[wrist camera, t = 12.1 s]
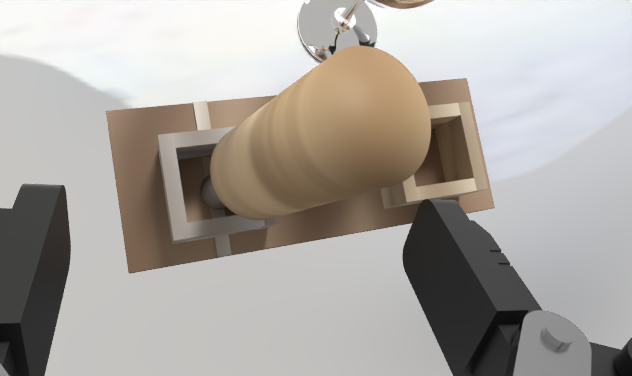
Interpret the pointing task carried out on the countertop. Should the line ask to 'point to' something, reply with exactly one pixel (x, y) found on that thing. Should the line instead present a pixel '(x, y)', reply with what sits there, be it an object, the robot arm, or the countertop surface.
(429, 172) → the plank
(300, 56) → the countertop surface
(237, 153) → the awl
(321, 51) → the wineglass
